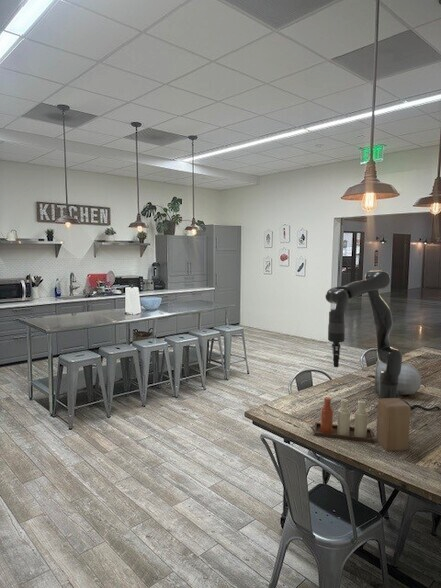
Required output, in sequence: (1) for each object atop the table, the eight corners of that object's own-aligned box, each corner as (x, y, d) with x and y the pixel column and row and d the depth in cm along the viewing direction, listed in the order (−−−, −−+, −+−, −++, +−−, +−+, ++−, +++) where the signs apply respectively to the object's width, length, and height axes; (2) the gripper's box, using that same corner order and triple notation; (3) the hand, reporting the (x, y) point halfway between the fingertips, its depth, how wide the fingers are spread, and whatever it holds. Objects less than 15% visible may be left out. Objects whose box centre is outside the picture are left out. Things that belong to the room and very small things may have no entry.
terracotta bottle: (332, 429, 186) (333, 396, 184) (332, 435, 181) (333, 400, 179) (320, 428, 187) (321, 395, 185) (320, 433, 182) (321, 399, 180)
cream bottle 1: (349, 431, 184) (350, 398, 182) (349, 437, 178) (351, 402, 177) (336, 430, 185) (338, 397, 183) (337, 435, 180) (338, 401, 178)
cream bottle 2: (366, 433, 182) (367, 400, 180) (367, 439, 177) (368, 404, 175) (353, 432, 183) (355, 398, 181) (354, 437, 178) (356, 403, 176)
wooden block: (375, 440, 176) (377, 397, 174) (396, 439, 177) (399, 397, 175) (386, 452, 166) (388, 406, 164) (408, 451, 167) (411, 406, 165)
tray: (371, 433, 184) (371, 429, 183) (373, 444, 173) (374, 439, 173) (314, 426, 190) (315, 422, 190) (314, 436, 180) (314, 432, 180)
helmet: (363, 394, 234) (420, 402, 220) (363, 364, 232) (421, 369, 218) (368, 384, 250) (421, 391, 236) (368, 356, 249) (422, 361, 234)
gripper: (345, 334, 179) (344, 369, 181) (343, 328, 192) (343, 360, 194) (328, 334, 181) (327, 368, 183) (327, 327, 194) (327, 359, 196)
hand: (335, 364), depth 189 cm, fingers open, 8 cm apart
